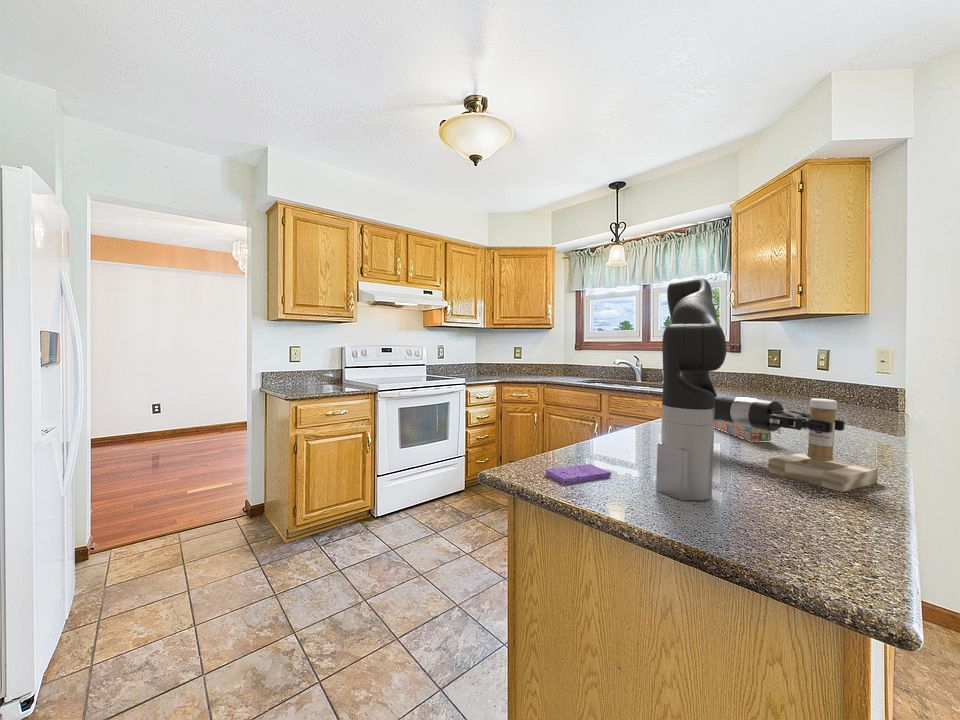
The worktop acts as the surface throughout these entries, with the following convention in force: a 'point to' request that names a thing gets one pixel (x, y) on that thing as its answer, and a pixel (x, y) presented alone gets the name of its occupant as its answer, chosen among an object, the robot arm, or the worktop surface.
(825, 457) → the sprinkles bottle
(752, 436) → the stack of blocks
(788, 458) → the birch socket board
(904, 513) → the worktop surface
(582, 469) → the sponges
